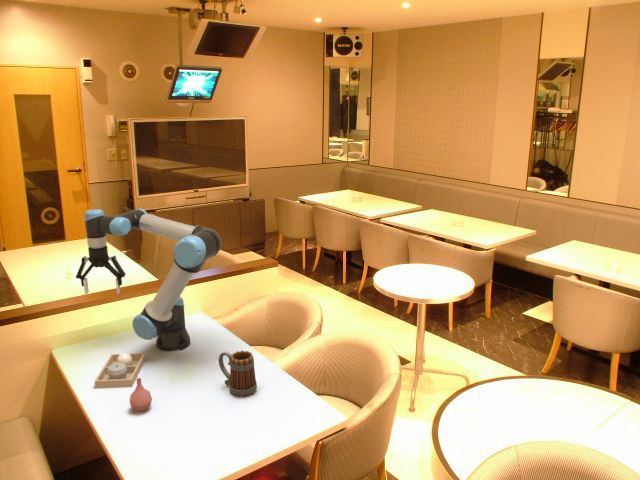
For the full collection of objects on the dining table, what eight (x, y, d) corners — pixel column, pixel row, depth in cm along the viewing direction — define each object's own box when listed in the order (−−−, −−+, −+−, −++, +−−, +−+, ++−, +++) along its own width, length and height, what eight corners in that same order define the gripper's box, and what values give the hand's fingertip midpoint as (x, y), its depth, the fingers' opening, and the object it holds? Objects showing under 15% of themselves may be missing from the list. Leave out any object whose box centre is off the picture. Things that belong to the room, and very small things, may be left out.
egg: (134, 362, 231) (133, 350, 230) (130, 369, 226) (129, 356, 224) (119, 363, 231) (118, 350, 229) (115, 370, 225) (114, 357, 224)
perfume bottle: (129, 405, 201) (126, 376, 198) (151, 401, 204) (148, 372, 201) (131, 416, 194) (128, 386, 191) (153, 412, 197) (151, 382, 194)
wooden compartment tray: (145, 360, 234) (145, 353, 233) (132, 388, 213) (131, 379, 212) (112, 361, 233) (111, 354, 232) (95, 389, 212) (94, 381, 211)
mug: (262, 387, 214) (261, 352, 210) (247, 400, 204) (246, 364, 200) (228, 378, 220) (226, 344, 216) (213, 391, 211) (211, 355, 207)
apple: (132, 379, 218) (130, 364, 216) (113, 387, 212) (111, 371, 211) (122, 372, 223) (121, 358, 222) (104, 379, 218) (102, 364, 216)
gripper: (129, 242, 237) (134, 288, 243) (70, 244, 235) (76, 290, 241) (125, 247, 230) (129, 295, 236) (64, 249, 228) (70, 296, 234)
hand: (102, 292), depth 238 cm, fingers open, 13 cm apart
